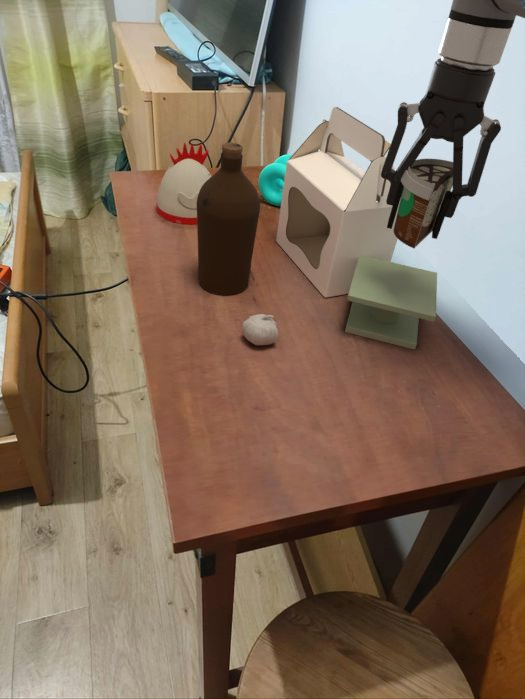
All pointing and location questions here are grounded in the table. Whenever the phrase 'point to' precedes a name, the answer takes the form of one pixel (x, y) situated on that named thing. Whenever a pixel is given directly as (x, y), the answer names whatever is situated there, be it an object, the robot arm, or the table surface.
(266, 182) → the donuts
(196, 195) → the kitchen timer
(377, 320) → the stand
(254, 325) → the garlic
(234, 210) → the olive oil
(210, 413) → the table surface
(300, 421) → the table surface
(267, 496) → the table surface
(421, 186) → the food container
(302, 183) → the gable box
